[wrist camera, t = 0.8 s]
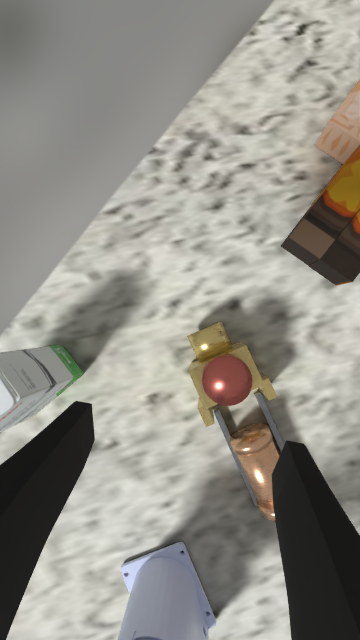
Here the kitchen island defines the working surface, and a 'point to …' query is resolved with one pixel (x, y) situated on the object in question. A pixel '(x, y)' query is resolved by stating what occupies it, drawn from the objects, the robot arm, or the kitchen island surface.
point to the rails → (228, 436)
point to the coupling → (258, 462)
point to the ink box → (33, 381)
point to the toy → (335, 203)
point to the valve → (223, 371)
